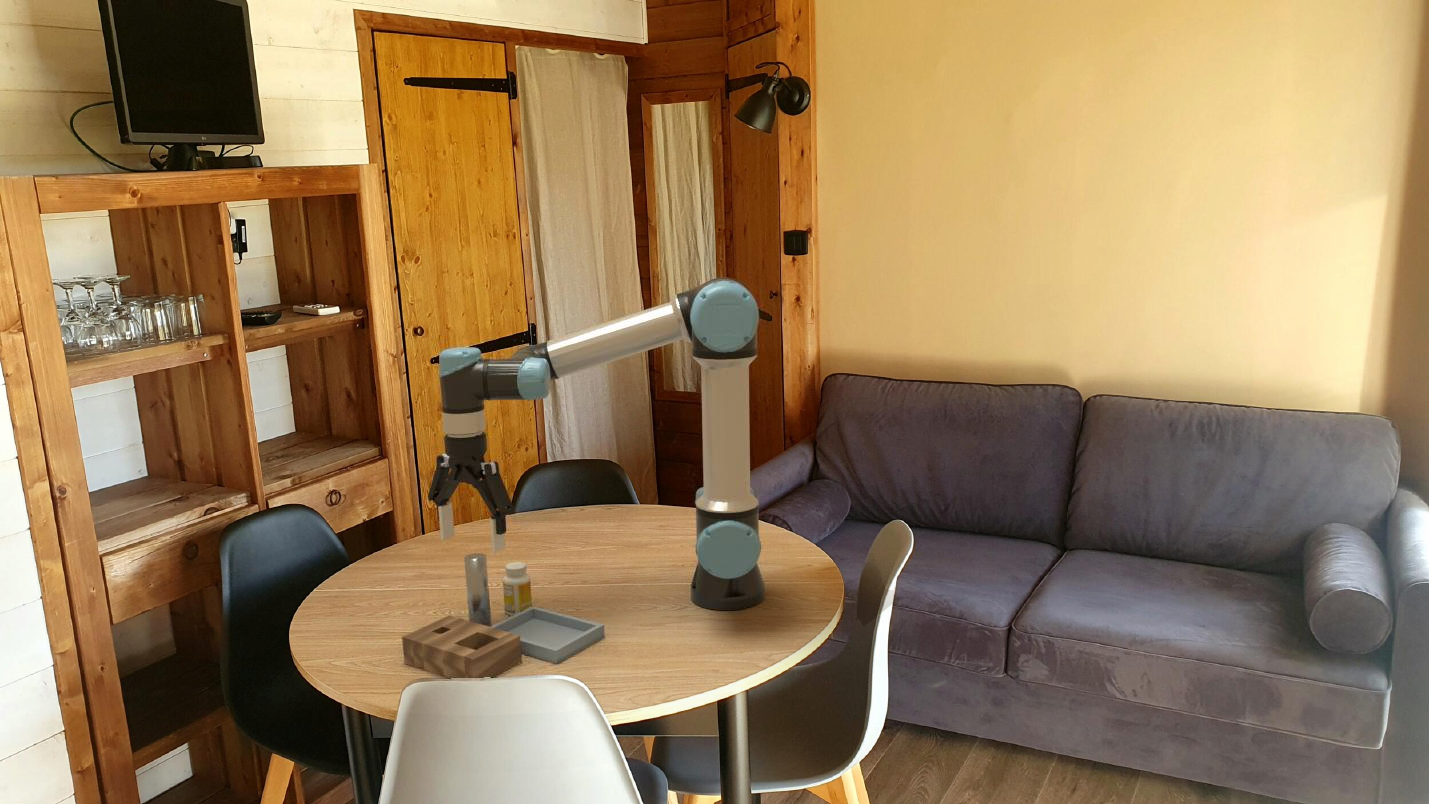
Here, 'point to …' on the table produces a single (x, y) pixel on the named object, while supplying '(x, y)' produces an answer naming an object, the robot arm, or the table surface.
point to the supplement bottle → (516, 589)
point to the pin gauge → (477, 589)
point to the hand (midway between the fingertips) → (472, 544)
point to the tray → (551, 633)
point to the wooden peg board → (461, 649)
